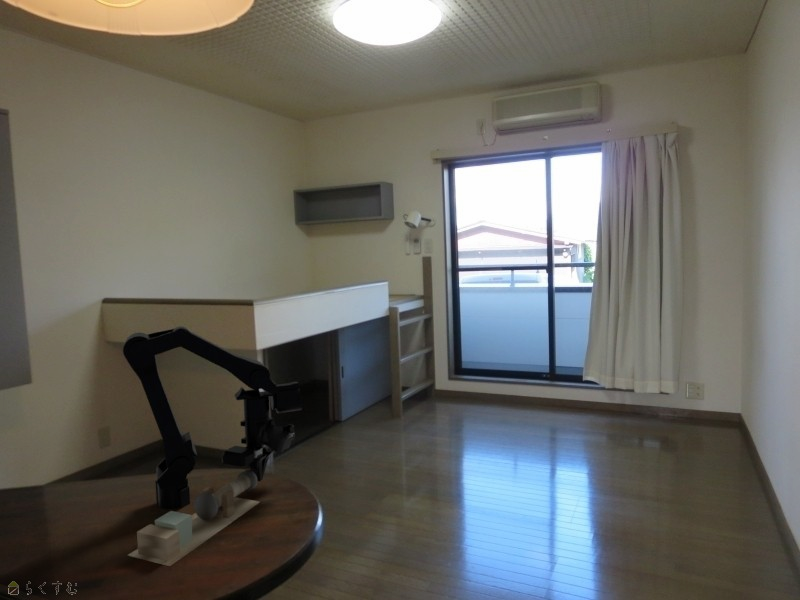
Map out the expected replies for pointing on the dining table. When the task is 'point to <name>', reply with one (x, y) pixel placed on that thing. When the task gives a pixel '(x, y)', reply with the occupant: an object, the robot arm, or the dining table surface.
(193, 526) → the bench
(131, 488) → the dining table surface
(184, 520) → the block
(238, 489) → the shaft
